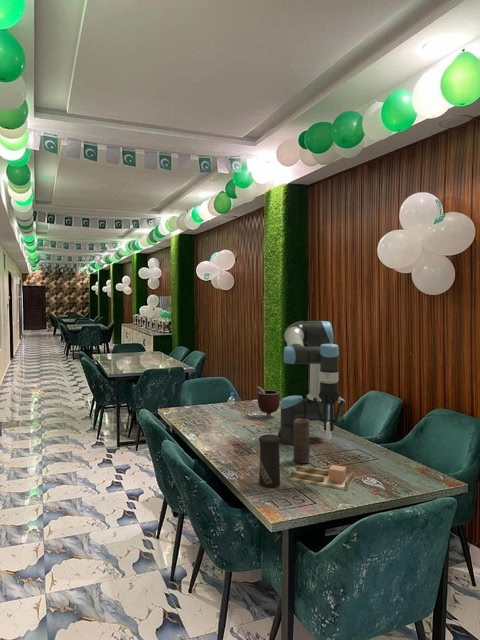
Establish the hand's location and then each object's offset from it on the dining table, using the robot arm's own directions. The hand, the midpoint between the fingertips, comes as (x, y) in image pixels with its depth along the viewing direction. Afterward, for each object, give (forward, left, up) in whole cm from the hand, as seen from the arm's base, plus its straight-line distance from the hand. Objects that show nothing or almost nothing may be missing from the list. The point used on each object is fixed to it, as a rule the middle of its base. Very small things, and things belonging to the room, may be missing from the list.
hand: (328, 438), depth 190 cm
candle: (-17, +17, -18) cm, 30 cm away
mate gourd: (-60, +83, -18) cm, 104 cm away
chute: (-3, 0, -18) cm, 18 cm away
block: (+4, 0, -17) cm, 17 cm away
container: (-21, -13, -18) cm, 31 cm away
